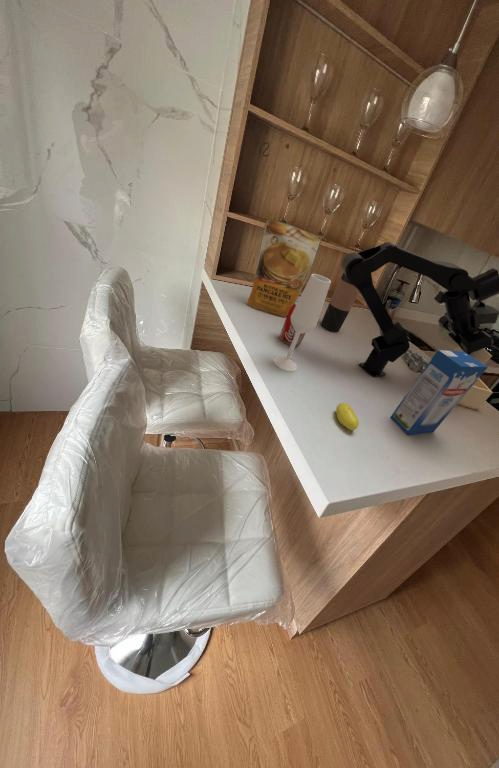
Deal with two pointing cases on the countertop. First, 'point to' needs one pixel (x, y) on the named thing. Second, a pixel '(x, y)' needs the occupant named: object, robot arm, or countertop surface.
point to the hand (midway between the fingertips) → (468, 354)
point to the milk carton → (437, 391)
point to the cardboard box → (475, 395)
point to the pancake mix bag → (282, 267)
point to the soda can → (290, 329)
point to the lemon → (347, 416)
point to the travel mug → (339, 305)
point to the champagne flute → (305, 315)
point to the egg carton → (415, 360)
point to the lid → (478, 355)
